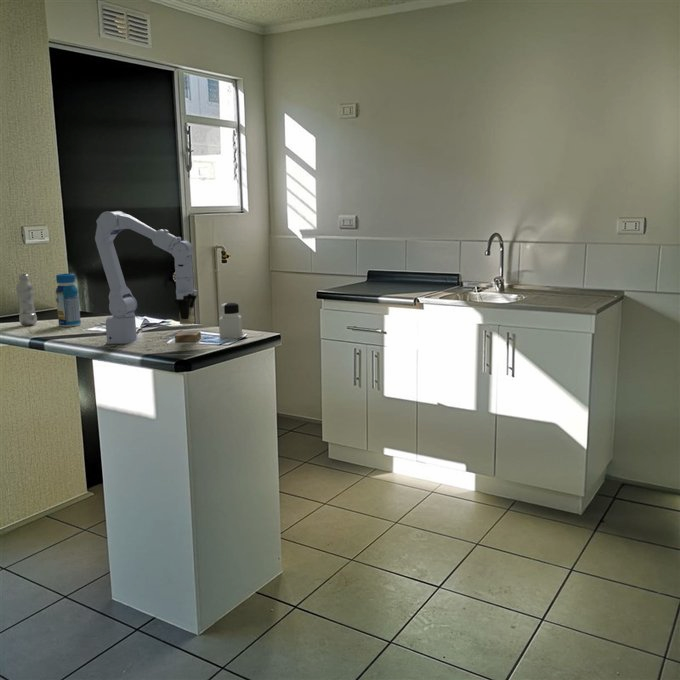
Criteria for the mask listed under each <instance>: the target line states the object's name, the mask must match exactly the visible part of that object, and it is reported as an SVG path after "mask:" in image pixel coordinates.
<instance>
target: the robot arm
mask: <svg viewBox="0 0 680 680" xmlns="http://www.w3.org/2000/svg"><path fill="white" fill-rule="evenodd" d="M123 230H131V231H134V232H135V233H138V234H140V235H142V236H144V237H146V238H148V239H150V240H151V241H152V244H153V245H154V246H155V247H157V248H159V249H162V250H163V251H165V252H167V253H168V254H171V256H172V257H173V258H174V270H175V276H174V277H175V287H176V288H175V295H176V297H175V298H174V299H173V300H174V301H173V302H175V304H176V306H177V309H178V312H180V314H179V316H180V315H181V318H182V319H188V317H189V307H194V305H195V301H196V299H197V297H198V296H197V294H195V293H198V290H197V289H195V288H194V285H195V284H194V272H193V260H192V259H193V257H192V256H193V254H194V245H193V243H191V242H189V241H188V240H187V239H185V240H183V239H182V237H181V236H175V235H174V234H171V233H170V230H168V229H165V228H164V229H158V230H156V229H154V228H152V227H151V226H149V225H147V224H146V223H144V222H142V221H140V220H139V219H137V218H136V217H134V216H133V215H130V214H127V213H125V212H123V211H121V210H115V211H103V212H102V213H100V214H99V216H98V217H97V219H96V230H95V236H94V241H95V243H96V249H97V251H98V254H99V257H100V260H101V264H102V268H103V271H104V273H105V276H106V280H107V283H108V287H109V294H108V300H109V304H108V309H109V313H110V314H111V315H112V316H108V317H107V318H106V319H105V331H106V344H107V345H108V344H109V345H110V344H112V345H113V344H114V345H115V344H118V345H119V344H124V345H125V344H129V343H130V344H131V343H136V342H137V341H139V340H140V339H141V337H138V336H137V325H136V314H135V311H136V309H137V308H138V301H137V299H136V297H134V295H133V294H132V291H131V290H130V288H129V287H128V286H127V285H126V281H125V278H124V274H123V270H122V268H121V267H122V266H121V265H120V261H119V257H118V253H117V251H116V248H115V245H114V240H115V238H116V237H117V235H118V234H119V233H121V232H122V231H123Z"/></svg>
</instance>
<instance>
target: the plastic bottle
mask: <svg viewBox="0 0 680 680" xmlns="http://www.w3.org/2000/svg"><path fill="white" fill-rule="evenodd" d="M29 279H30V277H29V273H22V274H18V280H19V281H18V283H17V284H16V287H15V291H16V295H17V298H18V302H19V303H18V304H19V315H18V316H19V318H18V320H19V323H20V325H21V326H26V327H27V326H28V327H29V326H32V325H35V324H37V322H38V316H37V313H36V309H35V304H34V303H35V302H34V292H35V291H34V290H35V289H34V285H33V284H32V282H31V281H30V280H29Z"/></svg>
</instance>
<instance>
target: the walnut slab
mask: <svg viewBox="0 0 680 680" xmlns="http://www.w3.org/2000/svg"><path fill="white" fill-rule="evenodd" d="M201 332H202V331H179V332H178V333H176V334H175V335H174V339H175V343H196V342H197V341H198V340H200V339H201V337H202V334H201Z"/></svg>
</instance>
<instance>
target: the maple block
mask: <svg viewBox="0 0 680 680" xmlns="http://www.w3.org/2000/svg"><path fill="white" fill-rule="evenodd" d="M178 312H179V311H178ZM195 322H196V321H195V307H194V306H193V307H189V317H188V319H182V318H181V315H180V312H179V324H180V325H192V324H195Z"/></svg>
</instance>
